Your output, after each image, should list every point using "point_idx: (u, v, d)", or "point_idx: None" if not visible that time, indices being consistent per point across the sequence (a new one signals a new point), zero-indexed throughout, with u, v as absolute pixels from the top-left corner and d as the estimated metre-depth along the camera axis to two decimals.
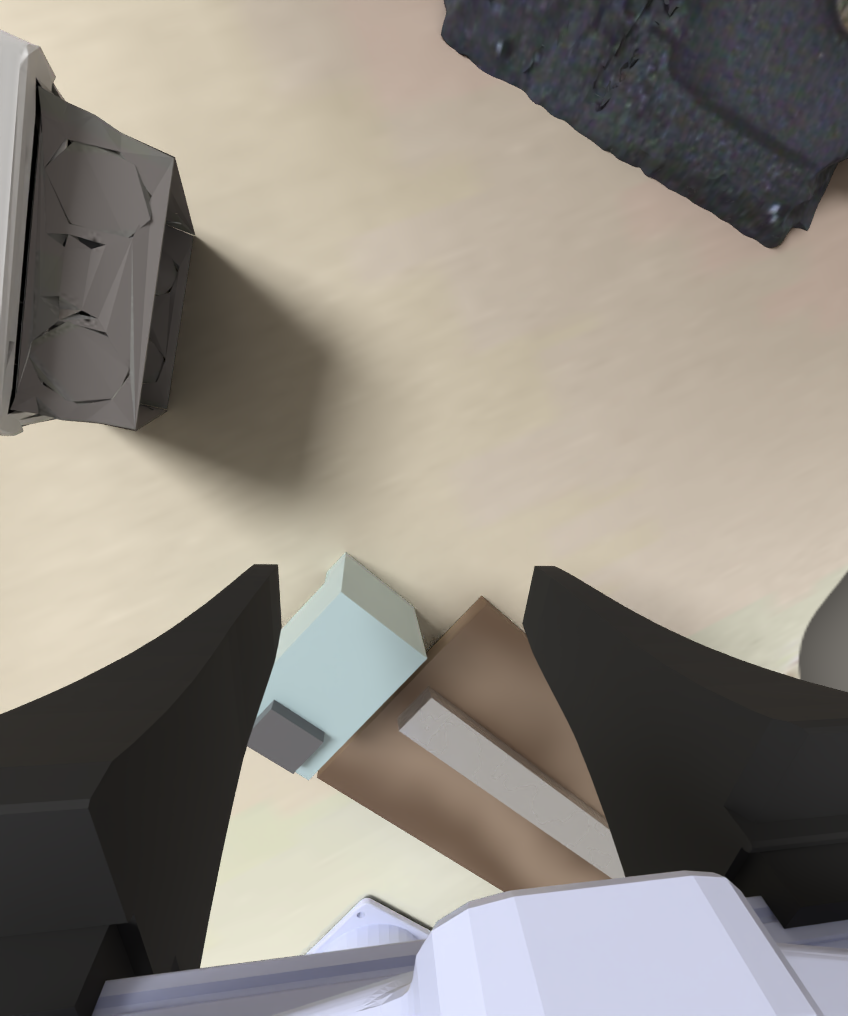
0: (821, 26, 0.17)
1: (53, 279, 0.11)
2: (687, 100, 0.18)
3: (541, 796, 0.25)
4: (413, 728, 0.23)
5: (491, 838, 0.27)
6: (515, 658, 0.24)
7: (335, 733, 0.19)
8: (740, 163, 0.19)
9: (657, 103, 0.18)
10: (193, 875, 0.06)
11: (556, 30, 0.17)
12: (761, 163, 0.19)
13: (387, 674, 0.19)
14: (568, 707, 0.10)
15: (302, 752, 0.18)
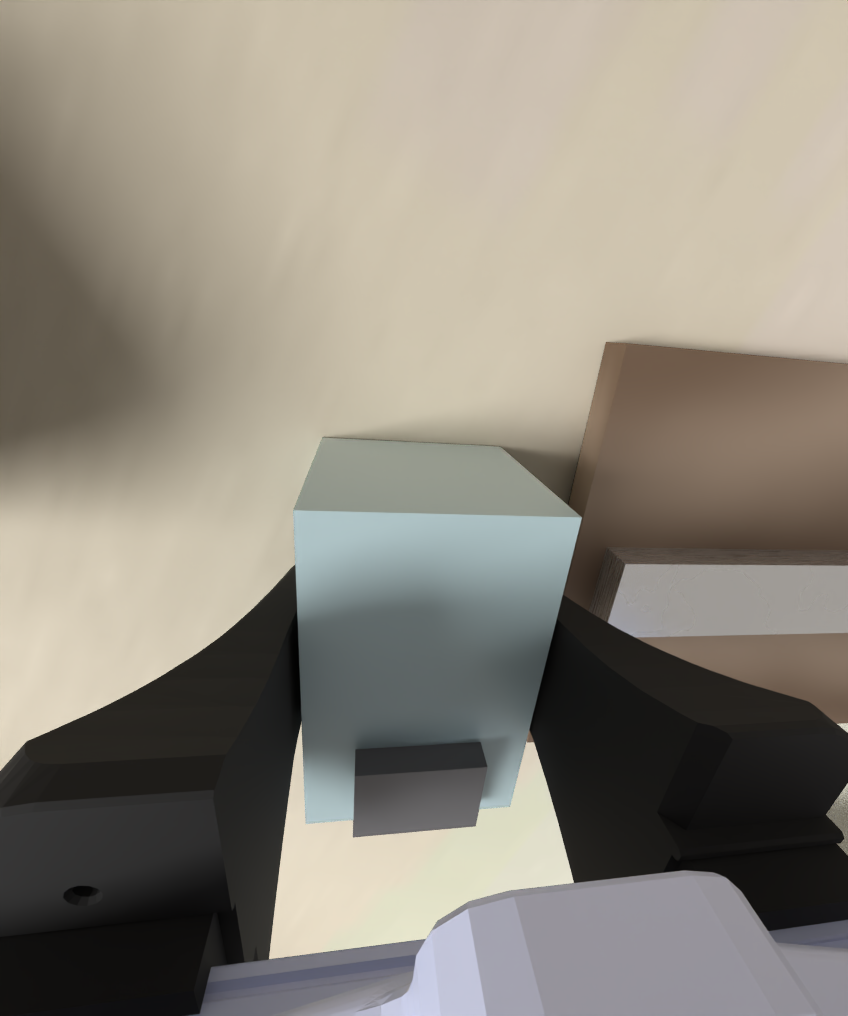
0: None
1: None
2: None
3: None
4: (624, 622, 0.13)
5: (828, 676, 0.16)
6: (739, 407, 0.11)
7: (500, 733, 0.09)
8: None
9: None
10: (266, 868, 0.06)
11: None
12: None
13: (520, 596, 0.08)
14: None
15: (464, 796, 0.09)
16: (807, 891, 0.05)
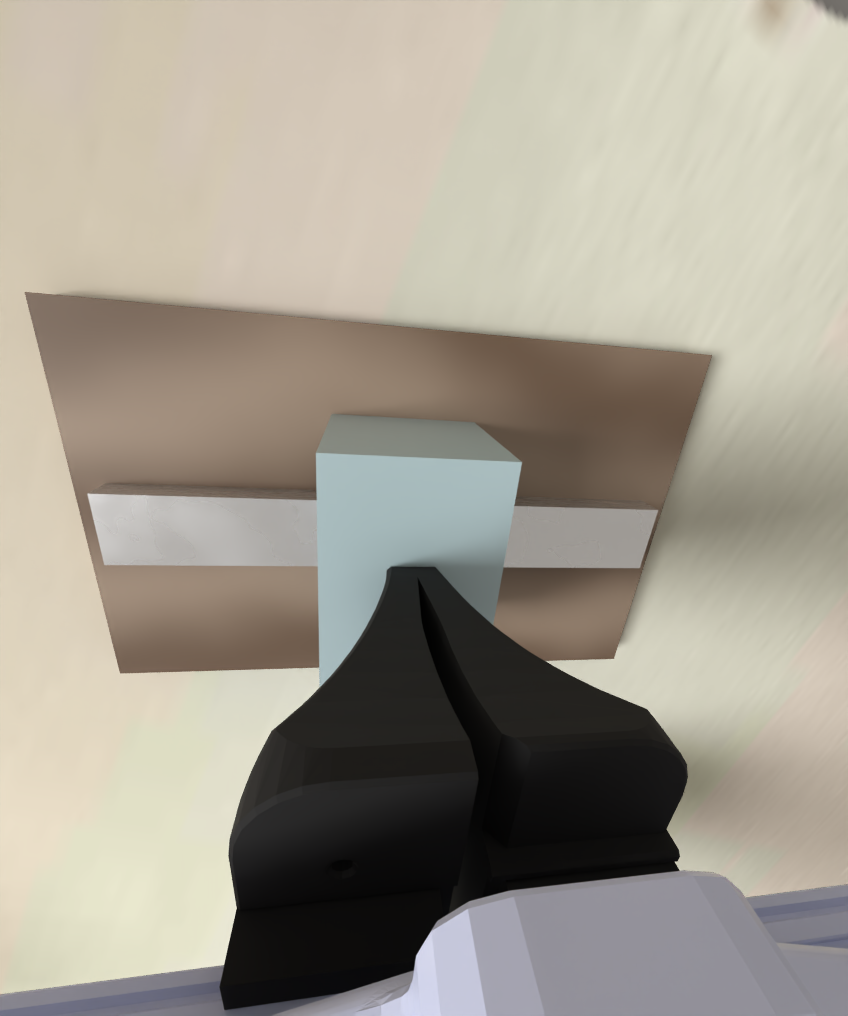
0: None
1: None
2: None
3: None
4: (118, 549, 0.14)
5: None
6: (175, 352, 0.13)
7: None
8: None
9: None
10: None
11: None
12: None
13: (479, 523, 0.11)
14: None
15: None
16: None
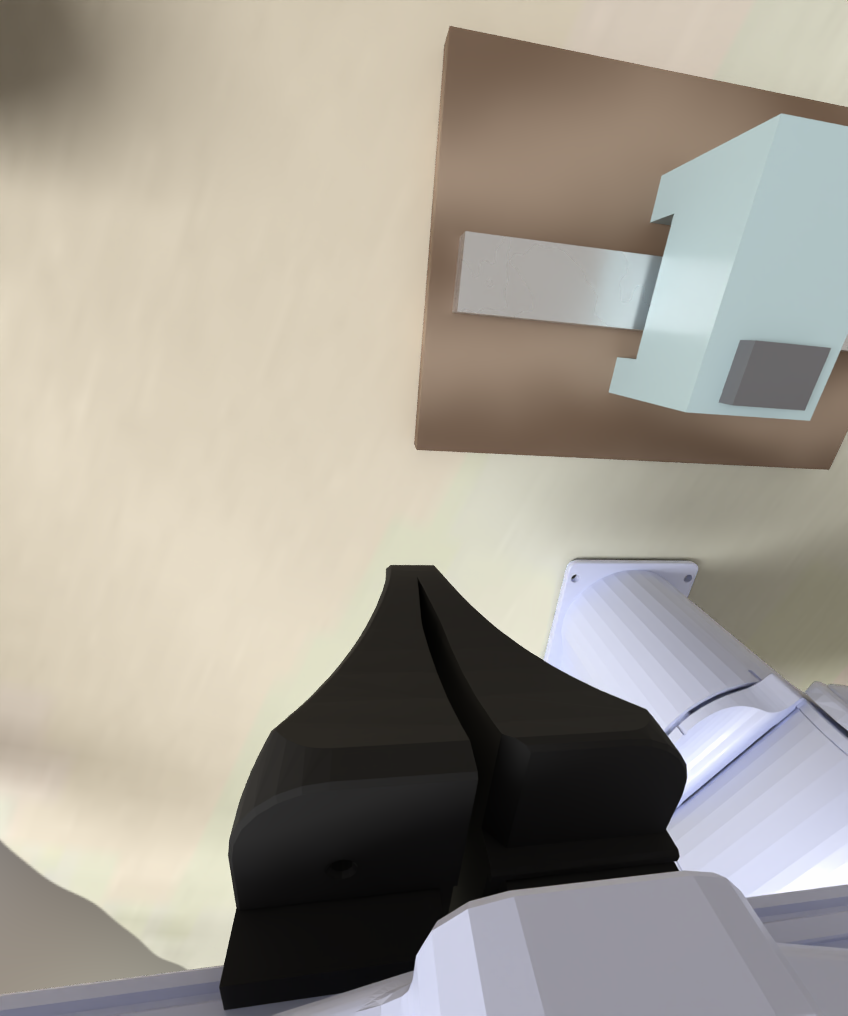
0: None
1: None
2: None
3: None
4: (473, 295, 0.16)
5: None
6: (552, 99, 0.15)
7: (827, 340, 0.14)
8: None
9: None
10: None
11: None
12: None
13: None
14: None
15: (808, 376, 0.14)
16: None
